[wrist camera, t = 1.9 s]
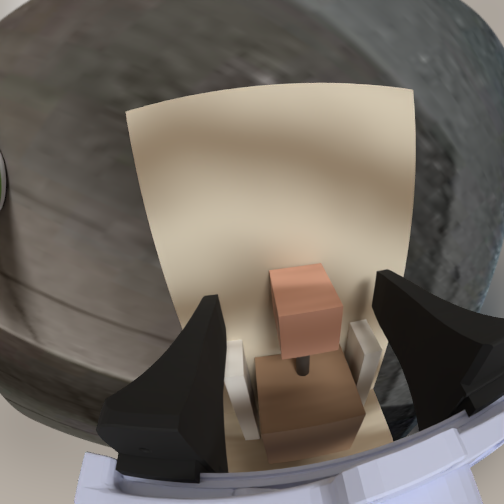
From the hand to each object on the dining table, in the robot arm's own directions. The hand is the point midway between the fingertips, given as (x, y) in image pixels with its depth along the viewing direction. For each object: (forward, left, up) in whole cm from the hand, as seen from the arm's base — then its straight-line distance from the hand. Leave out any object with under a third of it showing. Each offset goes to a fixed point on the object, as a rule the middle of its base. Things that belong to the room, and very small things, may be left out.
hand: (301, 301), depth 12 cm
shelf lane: (-2, 0, -2) cm, 3 cm away
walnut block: (-4, 0, -1) cm, 4 cm away
